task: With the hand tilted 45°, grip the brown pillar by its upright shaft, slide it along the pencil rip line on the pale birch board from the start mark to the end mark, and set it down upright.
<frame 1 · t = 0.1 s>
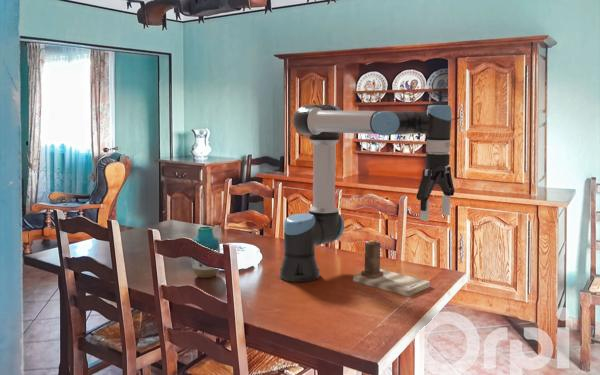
hand: (435, 217, 178), 28 cm above the table, tool pointing down, fingers open, 13 cm apart
board: (390, 283, 198), on the table
brown pillar: (372, 275, 201), point 2 cm above the table, touching board
vase: (206, 277, 206), on the table
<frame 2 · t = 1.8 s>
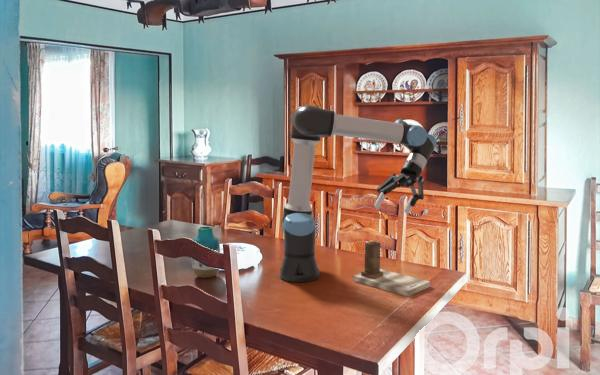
hand: (390, 209, 205), 25 cm above the table, tool tilted 45°, fingers open, 13 cm apart
nothing on the table moved.
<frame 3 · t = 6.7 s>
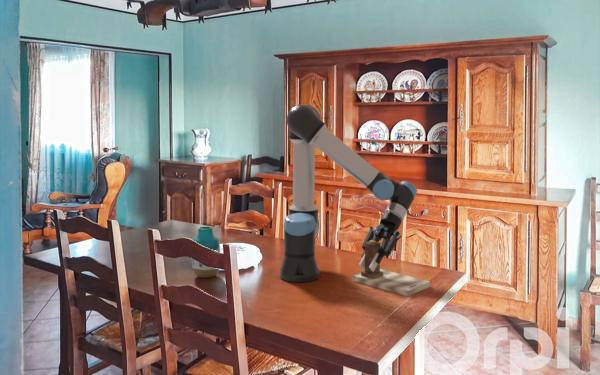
hand: (366, 268, 198), 6 cm above the table, tool tilted 45°, fingers closed on brown pillar, 4 cm apart
brown pillar: (372, 275, 201), point 2 cm above the table, touching gripper
everything else where it was.
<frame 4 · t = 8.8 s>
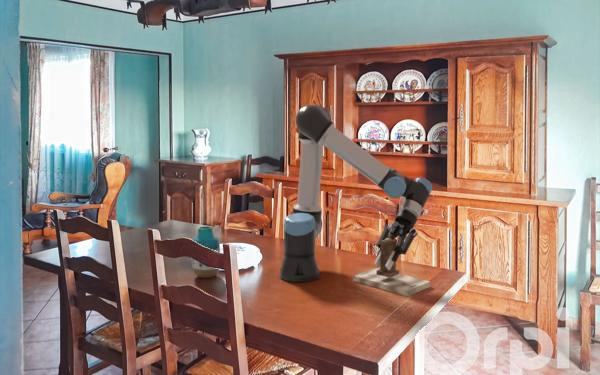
hand: (381, 266, 194), 7 cm above the table, tool tilted 45°, fingers closed on brown pillar, 4 cm apart
brown pillar: (387, 274, 197), point 4 cm above the table, touching gripper
everything else where it was.
when the fingers open (7 cm above the table, at t = 11.1 s): brown pillar stays where it is, resting on board.
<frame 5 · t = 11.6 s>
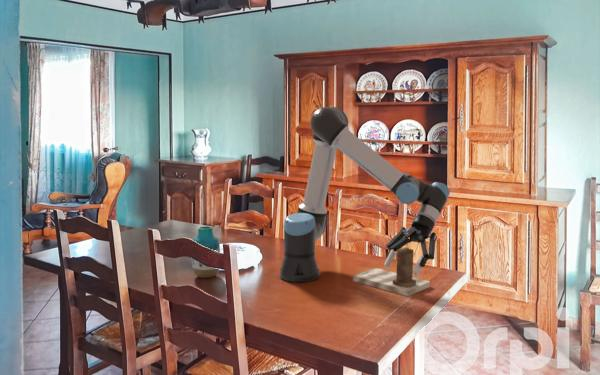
hand: (400, 270, 189), 8 cm above the table, tool tilted 45°, fingers open, 11 cm apart
brown pillar: (404, 284, 192), point 2 cm above the table, touching board
everything else where it was.
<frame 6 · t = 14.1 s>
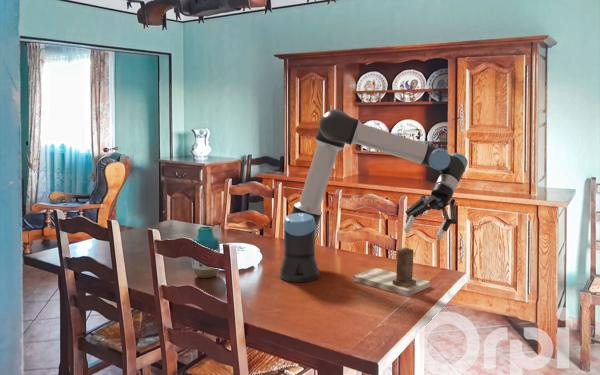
hand: (421, 234, 197), 18 cm above the table, tool tilted 45°, fingers open, 13 cm apart
nothing on the table moved.
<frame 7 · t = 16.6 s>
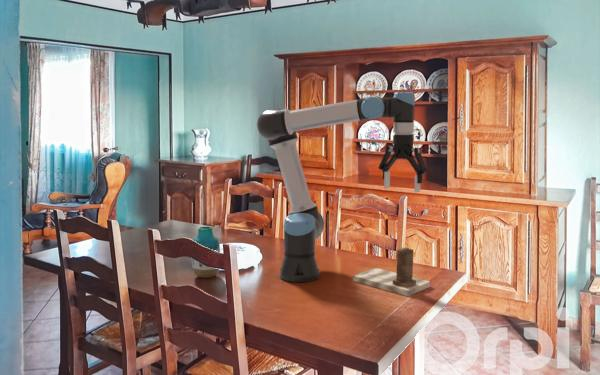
hand: (401, 190, 206), 33 cm above the table, tool pointing down, fingers open, 13 cm apart
nothing on the table moved.
at the end: brown pillar 0.0 cm from the target spot, point 2.0 cm above the table; brown pillar tilted 0°; the gripper is holding nothing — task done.
